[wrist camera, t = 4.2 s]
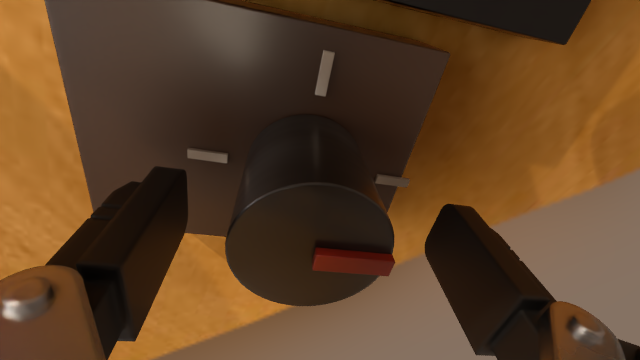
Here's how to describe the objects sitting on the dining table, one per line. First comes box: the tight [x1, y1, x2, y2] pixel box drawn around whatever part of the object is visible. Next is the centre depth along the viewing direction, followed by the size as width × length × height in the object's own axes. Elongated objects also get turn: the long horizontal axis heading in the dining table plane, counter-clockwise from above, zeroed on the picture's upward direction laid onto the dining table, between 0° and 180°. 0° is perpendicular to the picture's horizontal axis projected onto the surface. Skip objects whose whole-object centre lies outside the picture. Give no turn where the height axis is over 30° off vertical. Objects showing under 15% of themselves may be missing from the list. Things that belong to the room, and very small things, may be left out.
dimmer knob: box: [225, 115, 395, 306], centre depth 10 cm, size 4×4×5 cm
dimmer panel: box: [45, 0, 450, 237], centre depth 12 cm, size 12×9×3 cm
